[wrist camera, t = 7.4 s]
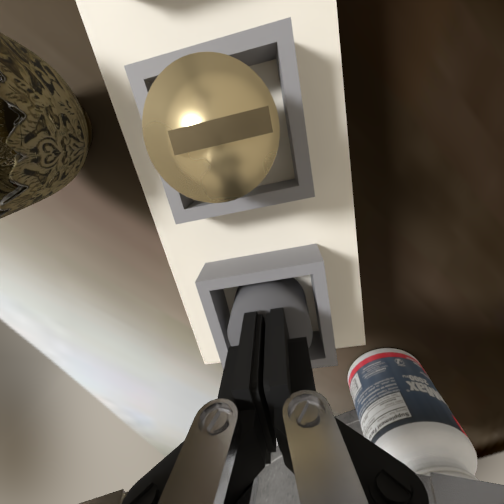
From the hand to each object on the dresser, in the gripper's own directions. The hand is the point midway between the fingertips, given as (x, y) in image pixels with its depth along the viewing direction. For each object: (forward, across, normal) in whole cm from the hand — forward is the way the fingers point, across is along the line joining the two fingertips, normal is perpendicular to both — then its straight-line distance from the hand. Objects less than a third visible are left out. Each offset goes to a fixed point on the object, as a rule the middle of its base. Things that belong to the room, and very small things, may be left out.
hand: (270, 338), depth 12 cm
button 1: (+3, 0, 0) cm, 3 cm away
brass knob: (+1, 0, -8) cm, 8 cm away
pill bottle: (+7, -6, +10) cm, 14 cm away
